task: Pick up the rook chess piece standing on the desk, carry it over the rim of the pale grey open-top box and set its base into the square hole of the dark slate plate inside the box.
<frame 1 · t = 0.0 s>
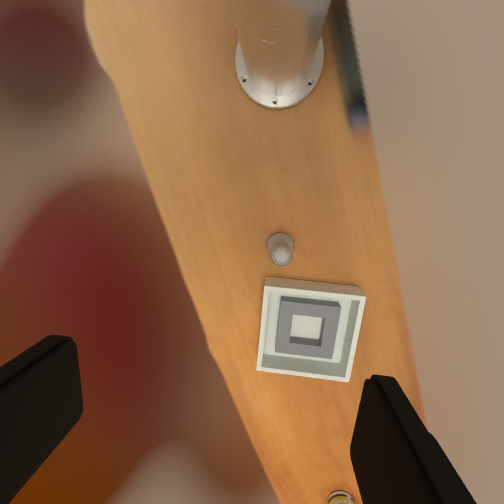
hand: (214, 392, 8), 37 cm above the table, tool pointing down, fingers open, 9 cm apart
box: (305, 321, 47), on the table
supplement bottle: (340, 497, 57), on the table
rook chess piece: (280, 244, 45), on the table
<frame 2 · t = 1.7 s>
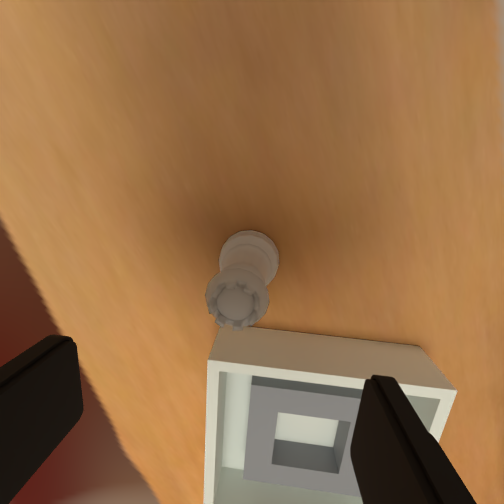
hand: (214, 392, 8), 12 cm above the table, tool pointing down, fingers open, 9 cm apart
box: (305, 411, 23), on the table
rook chess piece: (250, 256, 20), on the table
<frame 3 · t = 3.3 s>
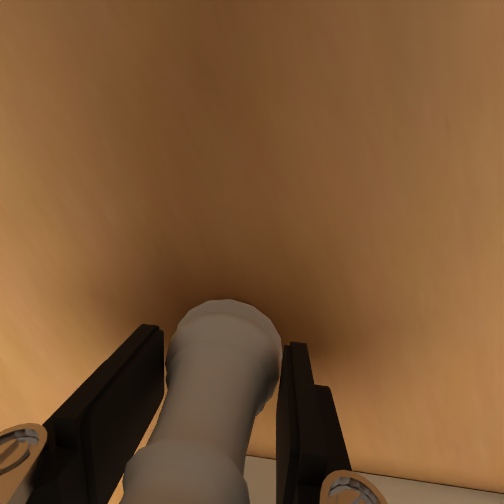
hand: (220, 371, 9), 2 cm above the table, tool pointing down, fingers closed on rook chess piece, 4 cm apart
rook chess piece: (230, 339, 11), on the table, touching gripper
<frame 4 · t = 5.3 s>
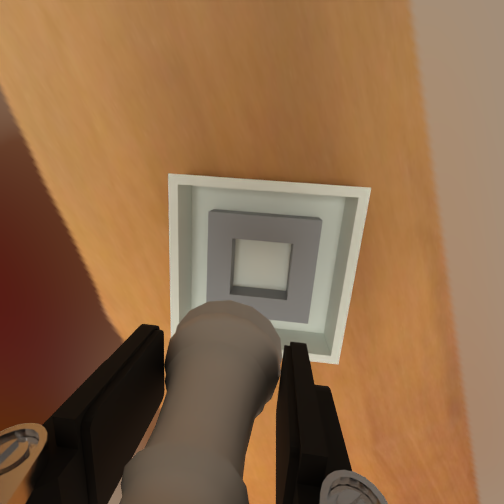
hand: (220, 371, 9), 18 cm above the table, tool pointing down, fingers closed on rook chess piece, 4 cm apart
box: (261, 260, 27), on the table
rook chess piece: (229, 341, 11), point 16 cm above the table, touching gripper
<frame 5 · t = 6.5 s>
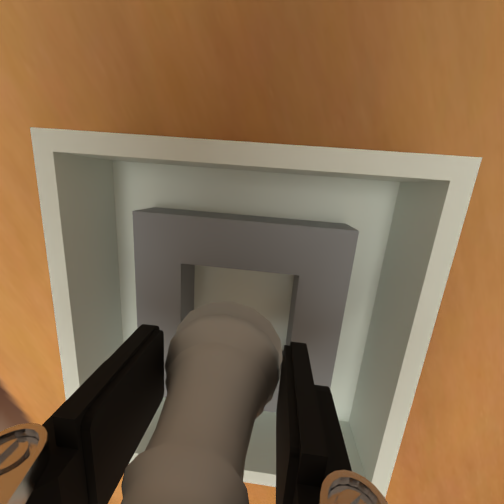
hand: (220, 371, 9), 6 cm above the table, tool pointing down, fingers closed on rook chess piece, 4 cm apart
box: (243, 297, 15), on the table
rook chess piece: (229, 342, 11), point 5 cm above the table, touching gripper
when the fingers open (4 cm above the table, at t = 7.4 s): rook chess piece drops 1 cm, resting on box.
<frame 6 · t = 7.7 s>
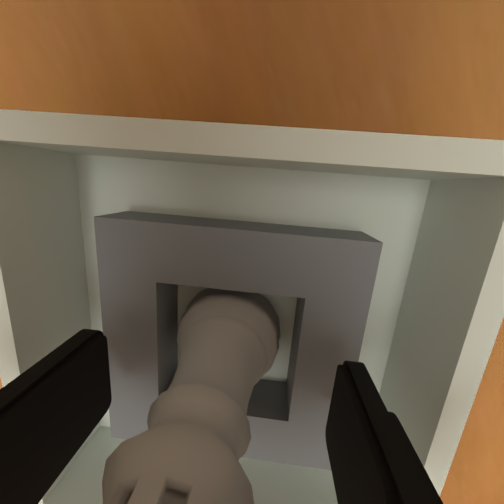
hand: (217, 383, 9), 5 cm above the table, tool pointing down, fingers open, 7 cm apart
box: (236, 317, 13), on the table
rook chess piece: (233, 321, 12), point 1 cm above the table, touching box
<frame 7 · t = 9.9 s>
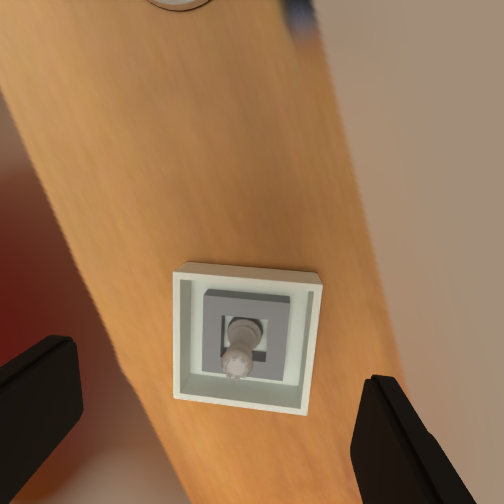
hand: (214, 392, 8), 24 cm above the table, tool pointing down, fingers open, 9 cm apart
box: (246, 326, 33), on the table
rook chess piece: (245, 328, 33), point 1 cm above the table, touching box
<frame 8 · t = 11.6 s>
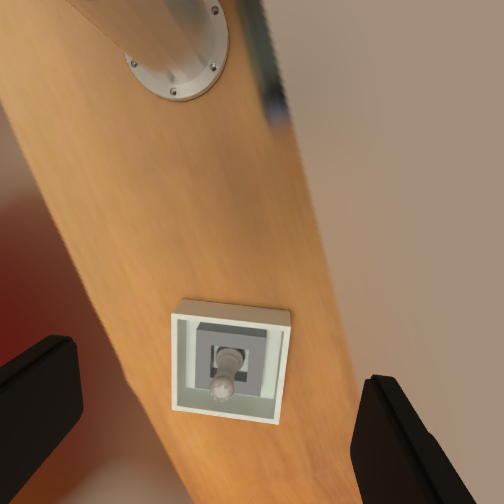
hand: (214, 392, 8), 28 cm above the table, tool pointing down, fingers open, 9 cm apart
box: (232, 351, 41), on the table
rook chess piece: (231, 352, 40), point 1 cm above the table, touching box
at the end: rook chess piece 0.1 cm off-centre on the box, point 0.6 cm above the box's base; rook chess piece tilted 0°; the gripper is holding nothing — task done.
